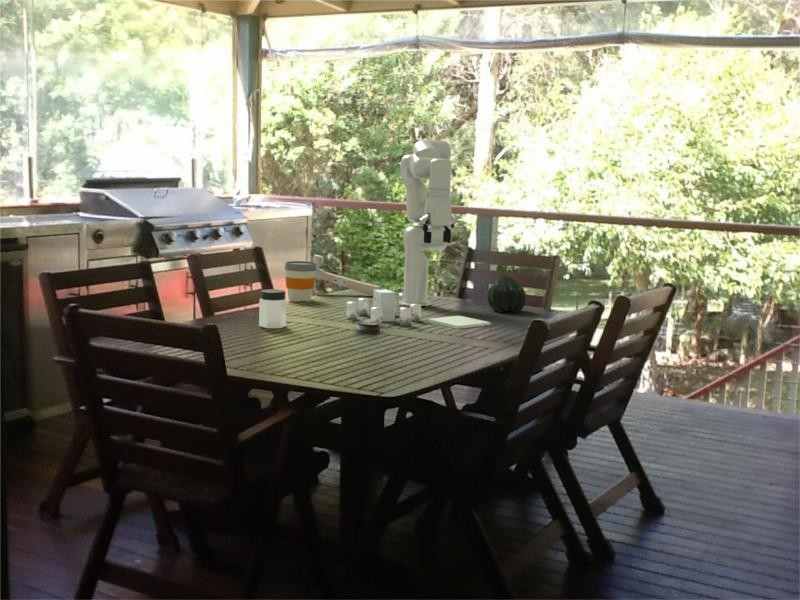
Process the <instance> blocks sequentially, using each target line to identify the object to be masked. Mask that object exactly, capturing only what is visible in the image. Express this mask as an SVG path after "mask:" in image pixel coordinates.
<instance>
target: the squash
mask: <svg viewBox="0 0 800 600" xmlns="http://www.w3.org/2000/svg"><path fill="white" fill-rule="evenodd" d="M486 294H487V297H486V298H487V302H488V305H489V307H490V308H491V309H492V310H493V311H495V310H496V311H495V312H499V313H504V312H507V311H510V312H512V313H519V312H521V311H522V310H523V308H524V307H525V304H526V301H527V299H526V298H527V295H526V292H525V289H524V287H523V286H522V285H521V283H520V282H519V281H518V280H516V279H514V278H513V277H511V276H509V275H507V274H502V275H500V276H499V277H497V279H496V280H495V281H494V282H493V283H492V284H491V285H490V286H489V288H488V290H487V293H486Z"/></svg>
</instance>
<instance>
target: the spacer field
mask: <svg viewBox="0 0 800 600" xmlns="http://www.w3.org/2000/svg"><path fill="white" fill-rule="evenodd" d="M369 302H370V299H369V298H367V297H359V298H357V301H354V300H353V301H352V300H351V301H349V300H348V301H346V305H345V307H346V308H345V310H346V311H345V319H346V320H350V321H351V320H352V321H353V320H358V316H362V317H365V316H366V315H367V316H369V311H370V318H369V319H370V321H374V322H377V323H379V324H380V325H381V326H382V325H383V322H382V308H381V307H373V306H372V307H370V310H369V306H370V303H369ZM395 315H397V299H396V298H395ZM367 316H366V317H367ZM370 321H369V322H370ZM412 321H414V322H413V323H420V322H421V321H422V307H421V304H410V306H402V307H399V321H398V322H399V324H398V325H399V326H400V325H401V327H411V326H412ZM419 321H420V322H419Z"/></svg>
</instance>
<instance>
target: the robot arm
mask: <svg viewBox="0 0 800 600" xmlns="http://www.w3.org/2000/svg"><path fill="white" fill-rule="evenodd" d="M451 154H452V150H451V146H450V144H449V142H447V141H445V140H437V139H436V140H435V139H420V140H418V141H417V142H415V144H414V145H413V148H412V153H410V154H405V155H404V156H403V157H401V159H400V173H401V174H400V175H401V178H402V179H401V180H403V181H402V183H403V184H404V188H405V196H406V198H405V201H406V202H405V203H406V204H405V205H406V206H405V207H406V218H407V220H408V221H409V223H413V224H420V225H409V226H408V227H406V228H405V229H404V230H403V231H404V232H403V246H404V270H403V272H404V273H403V274H404V277H403V291H402V292H401V293H399V294H398V297H399V298H401V300H399V301H398V304H399V305H401V306H404V305H405V306H404V307H410V304H421V306H426V307H430V306H431V301H429V300H428V288H429V287H428V284H429V259H428V257H427V255H425V253H424V251H443V250H445V249H446V248H447V246H448V243H451V240H452V239H451V237H452V236H451V235H452V232H453V230H454V227H455V224H456V222H457V218H456V217H454V216H453V214H452V213H453V212H452V200H451V198H450V197H451V194H452V192H451V181H452V180H451V179H452V173H453V166H452V165H453V164H452V161H451V160H450V159H451ZM423 179H425V180H427V179H428V182H429V183H428V187H427V185H426V184H425V183H424V180H423ZM429 305H430V306H429Z"/></svg>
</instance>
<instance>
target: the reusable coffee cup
mask: <svg viewBox="0 0 800 600" xmlns="http://www.w3.org/2000/svg"><path fill="white" fill-rule="evenodd" d="M284 270H285V288H287V295H288V297H287V298H288V301H290V302H296V301H298V300H299V301H307V302H311V301H312V296H313V288H314V284H315V285H316V281H315V278H316V277H315V271H316V263H314V262H313V261H306V260H305V261H304V260H291V261H285V264H284Z"/></svg>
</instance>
